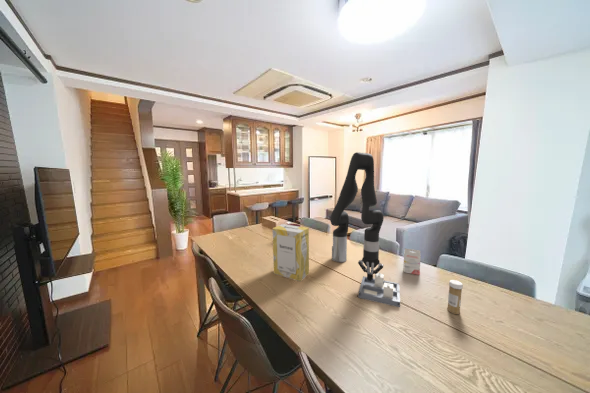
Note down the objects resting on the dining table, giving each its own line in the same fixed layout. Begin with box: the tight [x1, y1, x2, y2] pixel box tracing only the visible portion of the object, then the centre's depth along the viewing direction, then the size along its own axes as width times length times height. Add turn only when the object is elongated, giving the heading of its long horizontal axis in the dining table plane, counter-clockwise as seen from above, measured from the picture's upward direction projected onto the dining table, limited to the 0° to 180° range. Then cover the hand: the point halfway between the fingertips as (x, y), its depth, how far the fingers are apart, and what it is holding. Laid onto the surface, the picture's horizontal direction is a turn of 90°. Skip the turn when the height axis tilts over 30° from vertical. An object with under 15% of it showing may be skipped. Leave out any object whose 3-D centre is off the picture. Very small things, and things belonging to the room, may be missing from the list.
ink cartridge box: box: [402, 248, 422, 276], centre depth 126 cm, size 9×5×15 cm, turn 62°
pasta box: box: [272, 223, 310, 282], centre depth 125 cm, size 18×10×28 cm, turn 60°
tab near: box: [383, 283, 393, 299], centre depth 100 cm, size 4×4×6 cm
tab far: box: [374, 272, 385, 288], centre depth 110 cm, size 4×4×6 cm
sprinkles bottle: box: [446, 279, 464, 315], centre depth 91 cm, size 5×5×13 cm
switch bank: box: [357, 276, 401, 308], centre depth 106 cm, size 18×17×2 cm
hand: (369, 279), depth 112 cm, fingers closed
